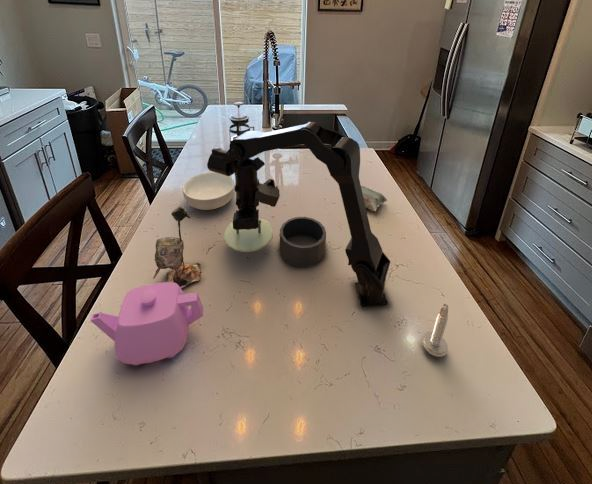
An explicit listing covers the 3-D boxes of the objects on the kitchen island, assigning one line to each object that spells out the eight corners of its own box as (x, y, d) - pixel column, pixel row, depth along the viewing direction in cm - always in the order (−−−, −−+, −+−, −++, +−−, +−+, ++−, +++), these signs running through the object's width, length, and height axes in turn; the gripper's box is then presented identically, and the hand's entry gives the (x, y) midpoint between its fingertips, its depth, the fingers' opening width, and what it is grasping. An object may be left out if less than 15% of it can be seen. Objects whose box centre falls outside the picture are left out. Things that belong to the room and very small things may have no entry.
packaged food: (374, 217, 107) (376, 204, 105) (344, 202, 114) (345, 190, 112) (386, 205, 113) (388, 193, 111) (357, 192, 120) (358, 180, 118)
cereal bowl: (197, 224, 101) (195, 205, 99) (177, 199, 113) (174, 182, 110) (244, 204, 112) (244, 186, 109) (221, 183, 123) (220, 167, 121)
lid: (273, 252, 86) (273, 237, 84) (221, 254, 85) (219, 239, 83) (272, 219, 99) (272, 205, 97) (226, 220, 98) (225, 206, 96)
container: (328, 265, 88) (329, 246, 85) (280, 267, 87) (281, 248, 84) (320, 233, 99) (321, 216, 97) (279, 235, 98) (279, 217, 96)
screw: (426, 363, 65) (416, 339, 70) (450, 361, 65) (439, 338, 70) (439, 317, 60) (428, 294, 64) (465, 316, 60) (451, 293, 65)
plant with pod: (159, 267, 86) (148, 203, 78) (204, 263, 87) (197, 200, 79) (151, 293, 78) (137, 226, 71) (200, 289, 80) (191, 222, 72)
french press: (229, 157, 142) (226, 107, 133) (227, 148, 151) (224, 100, 142) (256, 154, 145) (255, 105, 136) (253, 145, 154) (251, 98, 145)
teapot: (205, 305, 76) (200, 263, 71) (205, 359, 65) (199, 314, 60) (110, 322, 71) (98, 279, 66) (92, 384, 60) (76, 338, 55)
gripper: (279, 199, 77) (279, 251, 83) (276, 161, 94) (276, 206, 100) (230, 201, 76) (234, 253, 82) (237, 162, 93) (239, 207, 99)
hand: (248, 228), depth 91 cm, fingers closed on lid
